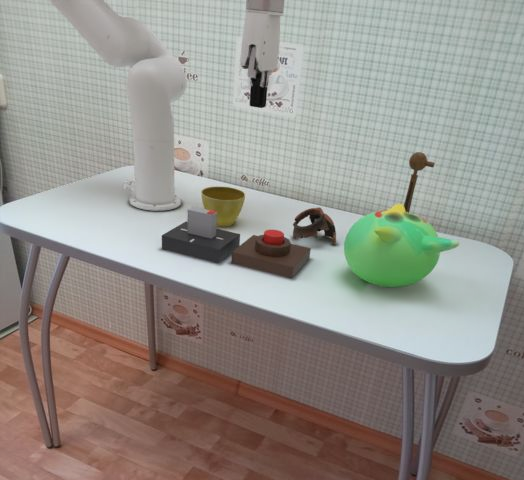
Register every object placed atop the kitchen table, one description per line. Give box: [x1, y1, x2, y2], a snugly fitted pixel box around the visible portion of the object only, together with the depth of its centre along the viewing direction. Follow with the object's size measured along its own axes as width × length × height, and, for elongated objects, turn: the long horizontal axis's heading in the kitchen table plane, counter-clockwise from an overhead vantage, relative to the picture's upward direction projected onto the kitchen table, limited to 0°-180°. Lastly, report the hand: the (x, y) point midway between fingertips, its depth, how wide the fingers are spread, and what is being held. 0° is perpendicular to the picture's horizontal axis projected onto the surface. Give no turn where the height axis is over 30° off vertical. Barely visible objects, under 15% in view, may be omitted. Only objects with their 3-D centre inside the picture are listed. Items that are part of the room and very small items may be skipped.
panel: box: [161, 220, 241, 264], centre depth 106 cm, size 13×10×3 cm
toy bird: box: [343, 203, 460, 288], centre depth 97 cm, size 18×17×15 cm
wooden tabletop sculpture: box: [403, 151, 435, 213], centre depth 116 cm, size 6×5×20 cm
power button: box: [263, 229, 285, 245], centre depth 102 cm, size 4×4×2 cm
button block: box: [230, 234, 312, 279], centre depth 103 cm, size 13×11×4 cm
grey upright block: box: [187, 206, 217, 239], centre depth 104 cm, size 6×2×5 cm, turn 68°
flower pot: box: [200, 185, 246, 228], centre depth 119 cm, size 10×10×7 cm
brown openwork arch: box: [292, 207, 337, 246], centre depth 116 cm, size 12×10×8 cm
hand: (257, 106), depth 111 cm, fingers closed
